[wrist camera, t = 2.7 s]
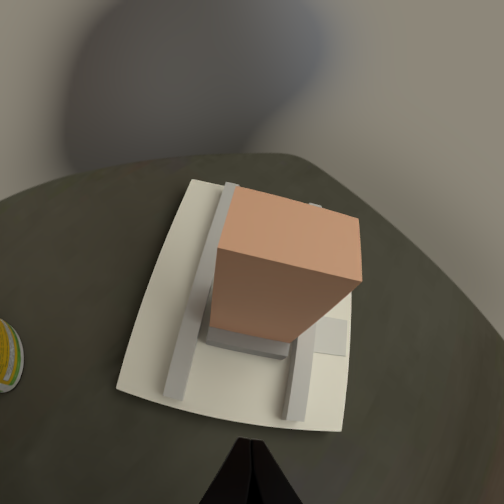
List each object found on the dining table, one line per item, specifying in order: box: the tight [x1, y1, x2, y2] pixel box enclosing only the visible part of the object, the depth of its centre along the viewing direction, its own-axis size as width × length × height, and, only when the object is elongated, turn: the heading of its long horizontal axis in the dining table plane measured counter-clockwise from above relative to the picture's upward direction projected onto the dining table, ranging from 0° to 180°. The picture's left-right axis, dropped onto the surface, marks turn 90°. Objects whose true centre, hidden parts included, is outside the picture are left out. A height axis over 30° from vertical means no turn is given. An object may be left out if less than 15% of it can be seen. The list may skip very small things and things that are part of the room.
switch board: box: [116, 179, 351, 431], centre depth 17 cm, size 16×13×2 cm
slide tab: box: [206, 186, 362, 360], centre depth 12 cm, size 4×4×9 cm
